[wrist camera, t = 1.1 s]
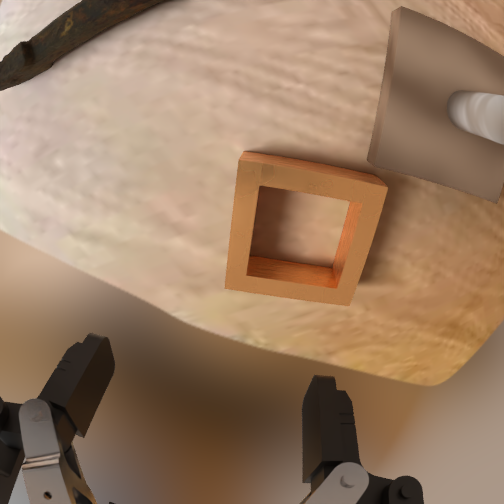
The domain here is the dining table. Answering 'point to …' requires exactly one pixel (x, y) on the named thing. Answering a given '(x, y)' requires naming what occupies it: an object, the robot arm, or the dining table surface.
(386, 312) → the dining table surface
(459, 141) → the keeper
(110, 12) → the hand tool
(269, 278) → the link
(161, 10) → the dining table surface
